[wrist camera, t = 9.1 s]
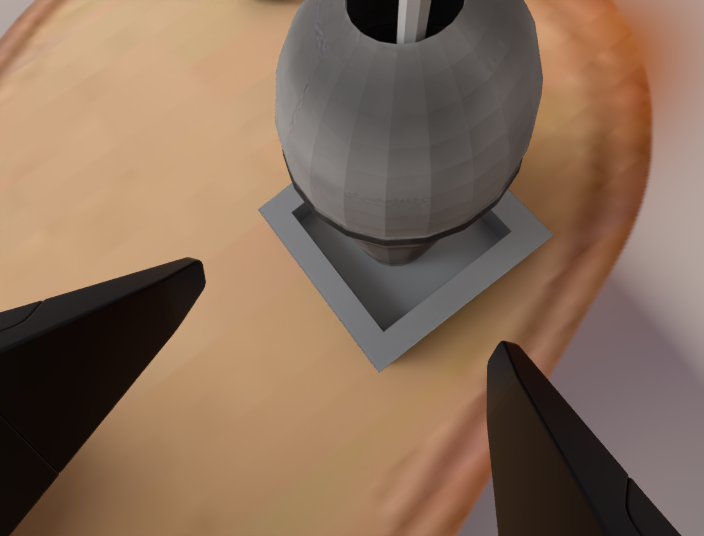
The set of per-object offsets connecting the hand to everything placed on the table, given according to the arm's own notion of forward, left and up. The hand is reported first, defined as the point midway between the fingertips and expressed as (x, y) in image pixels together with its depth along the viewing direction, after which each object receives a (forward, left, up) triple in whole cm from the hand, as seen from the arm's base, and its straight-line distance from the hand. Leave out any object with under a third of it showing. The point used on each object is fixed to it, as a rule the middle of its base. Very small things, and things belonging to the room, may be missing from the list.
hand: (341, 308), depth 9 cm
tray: (+3, -5, -12) cm, 13 cm away
